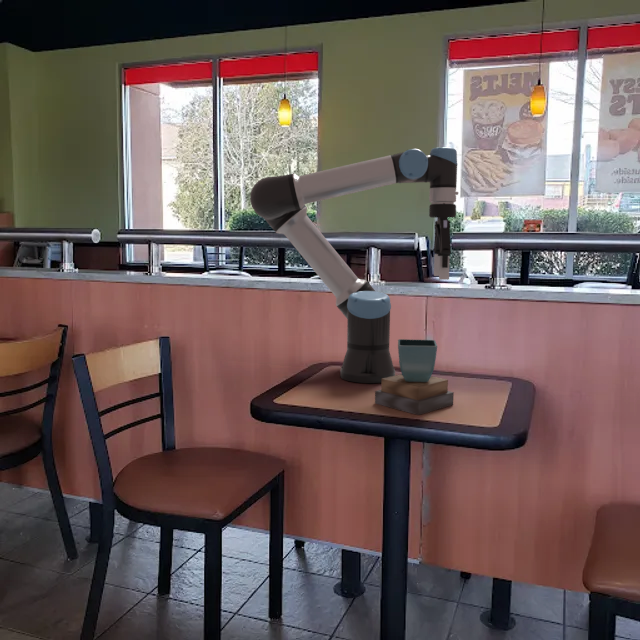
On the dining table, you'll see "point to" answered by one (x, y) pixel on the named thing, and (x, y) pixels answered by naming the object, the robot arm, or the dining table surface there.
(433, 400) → the tier stand
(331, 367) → the dining table surface
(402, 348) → the flower pot
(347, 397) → the dining table surface
